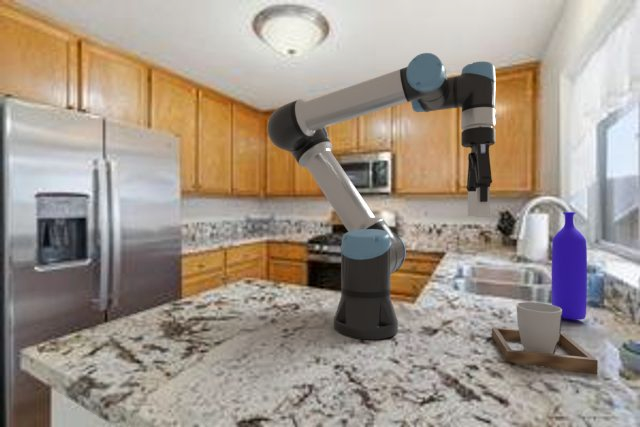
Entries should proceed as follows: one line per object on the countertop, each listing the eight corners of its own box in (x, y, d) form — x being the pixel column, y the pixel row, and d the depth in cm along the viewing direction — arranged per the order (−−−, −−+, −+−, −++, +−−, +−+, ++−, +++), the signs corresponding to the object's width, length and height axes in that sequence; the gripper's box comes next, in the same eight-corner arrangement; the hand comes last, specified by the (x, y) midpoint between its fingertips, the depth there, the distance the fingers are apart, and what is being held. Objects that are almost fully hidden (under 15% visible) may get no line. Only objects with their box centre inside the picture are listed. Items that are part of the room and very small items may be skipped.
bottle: (555, 318, 99) (555, 211, 99) (548, 310, 106) (549, 211, 106) (591, 321, 96) (591, 211, 95) (581, 313, 103) (582, 211, 103)
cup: (569, 364, 69) (569, 313, 69) (524, 360, 70) (524, 311, 70) (551, 348, 77) (551, 302, 77) (511, 345, 78) (511, 300, 78)
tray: (507, 364, 69) (507, 351, 69) (491, 337, 83) (491, 327, 83) (597, 373, 65) (597, 360, 65) (564, 344, 79) (564, 333, 79)
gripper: (507, 114, 72) (507, 217, 72) (485, 138, 96) (484, 216, 96) (468, 116, 74) (468, 217, 74) (456, 140, 98) (455, 215, 98)
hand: (477, 216), depth 85 cm, fingers open, 13 cm apart
